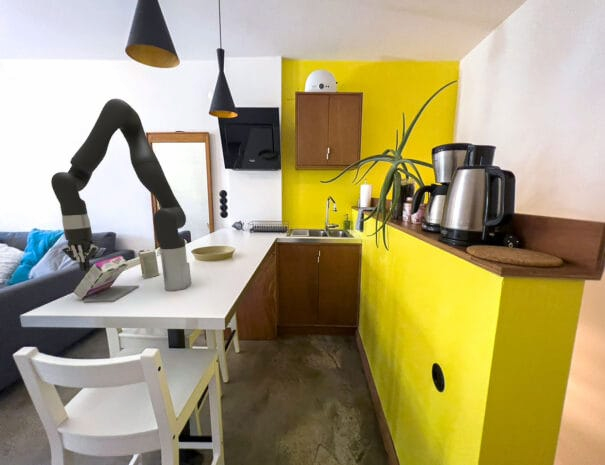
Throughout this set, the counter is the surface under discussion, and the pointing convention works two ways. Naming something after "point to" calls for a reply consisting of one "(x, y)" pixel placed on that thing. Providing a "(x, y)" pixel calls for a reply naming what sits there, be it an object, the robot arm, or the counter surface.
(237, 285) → the counter surface
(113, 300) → the felt pad
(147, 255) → the skincare box
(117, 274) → the candy bar box
